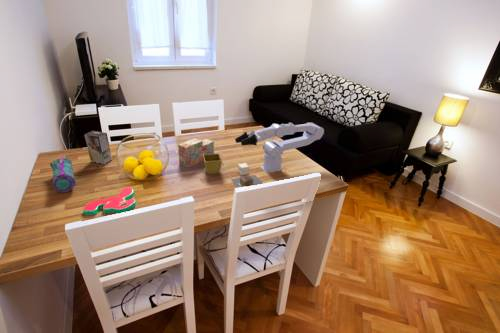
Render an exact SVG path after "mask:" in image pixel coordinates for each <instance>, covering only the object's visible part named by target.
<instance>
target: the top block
mask: <svg viewBox="0 0 500 333" xmlns="http://www.w3.org/2000/svg"><path fill="white" fill-rule="evenodd" d="M249 172H250V166H249V165H248V164H247V163H246V162H244V163H238V164H237V173H238V174H239V175H240V176H247V175H249Z"/></svg>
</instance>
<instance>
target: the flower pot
mask: <svg viewBox="0 0 500 333" xmlns="http://www.w3.org/2000/svg"><path fill="white" fill-rule="evenodd" d="M203 159H204V160H203V164H204V167H205V171H206V173H207V175H218V174H219V172H221V168H222V163H223V162H222V157H221V155H220V153H219V152H218V153H214V154H204V155H203Z"/></svg>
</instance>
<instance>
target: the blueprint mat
mask: <svg viewBox="0 0 500 333" xmlns="http://www.w3.org/2000/svg"><path fill="white" fill-rule="evenodd" d="M249 176H250V177H251V178H252V179H253V180H254V181H253V185H257V184H262V183H264V182H263V181H262V180H261V179H260V178H259V177H258V176H257V175H255V174H251V175H249ZM230 181H231V182H232V183H233V184H234V186H236V187H242V186H241V185H240V177H236V178H232V179H231V178H230Z"/></svg>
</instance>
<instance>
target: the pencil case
mask: <svg viewBox="0 0 500 333" xmlns="http://www.w3.org/2000/svg"><path fill="white" fill-rule="evenodd" d="M49 166H50V167H51V169H52V172H53V173H52V174H53V175H52V188H53V189H54V191H56V192H58V193H68V192H69V191H71V190H72V189H73V188H74V187H75V185H76V178H75V175H74V168H73V162H72V161H71V159H70V158H67V157H60V158H59V157H58V158H57V159H55V160H54V161H52V163H49Z"/></svg>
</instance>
